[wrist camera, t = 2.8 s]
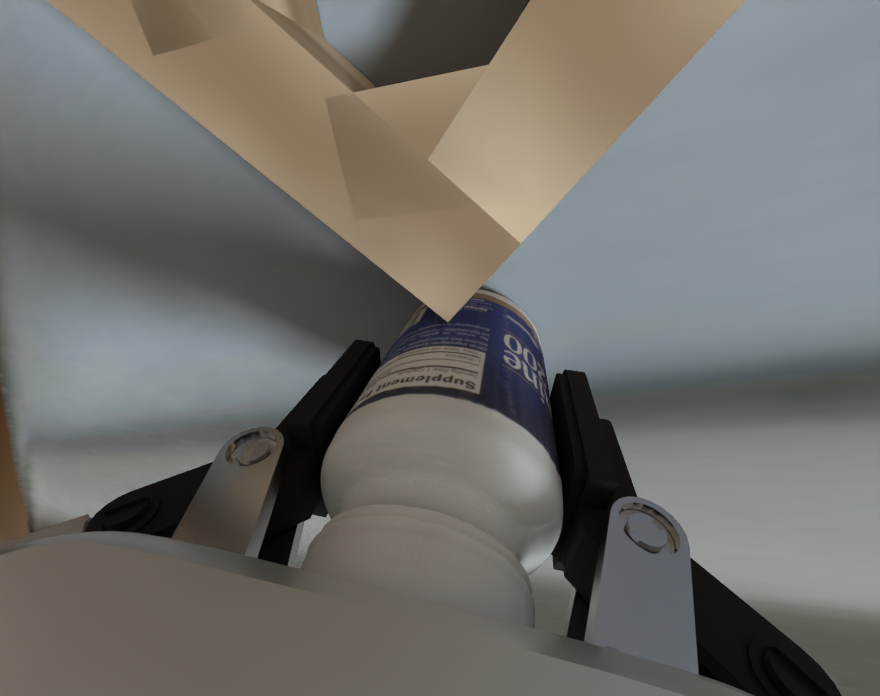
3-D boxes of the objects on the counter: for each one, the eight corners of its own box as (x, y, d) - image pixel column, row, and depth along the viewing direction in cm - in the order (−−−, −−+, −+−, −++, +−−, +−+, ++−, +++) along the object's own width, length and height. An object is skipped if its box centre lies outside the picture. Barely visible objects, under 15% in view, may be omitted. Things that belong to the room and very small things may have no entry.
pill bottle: (550, 396, 14) (602, 768, 5) (426, 408, 15) (322, 710, 7) (531, 269, 11) (574, 584, 3) (388, 298, 13) (159, 558, 5)
